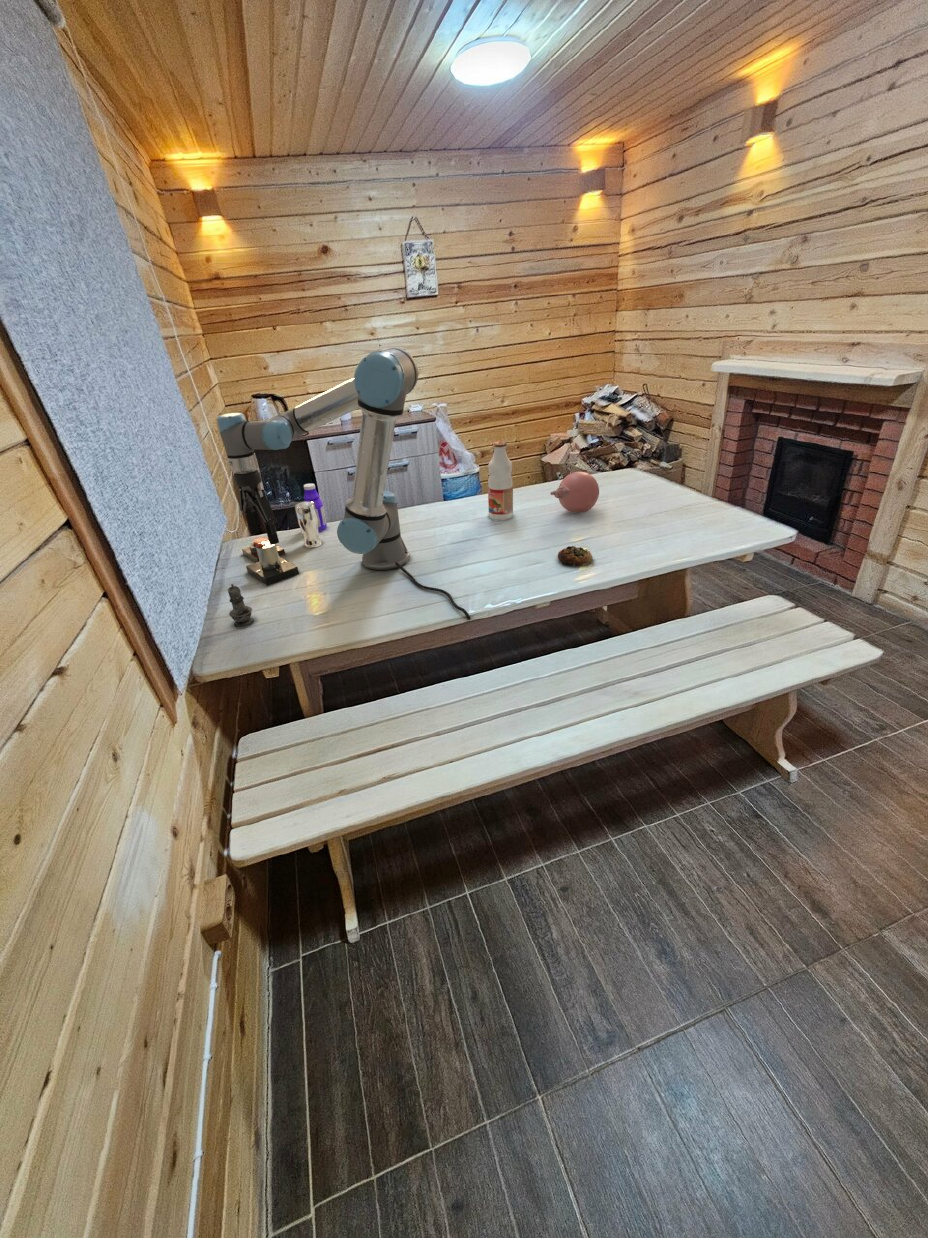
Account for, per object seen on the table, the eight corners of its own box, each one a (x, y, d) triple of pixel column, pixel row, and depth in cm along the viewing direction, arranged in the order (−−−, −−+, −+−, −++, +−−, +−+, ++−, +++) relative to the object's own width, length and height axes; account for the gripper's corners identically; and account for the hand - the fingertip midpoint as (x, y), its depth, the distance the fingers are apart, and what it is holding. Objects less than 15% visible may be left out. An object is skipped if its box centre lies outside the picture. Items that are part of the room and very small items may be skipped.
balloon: (539, 510, 205) (540, 472, 197) (584, 502, 210) (586, 464, 202) (558, 523, 193) (560, 482, 185) (605, 514, 198) (609, 474, 190)
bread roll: (553, 564, 163) (555, 549, 161) (560, 555, 172) (562, 540, 170) (589, 570, 159) (592, 554, 157) (594, 559, 169) (596, 544, 167)
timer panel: (299, 573, 167) (297, 566, 166) (267, 585, 161) (265, 578, 160) (278, 561, 176) (277, 554, 175) (247, 572, 170) (245, 565, 168)
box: (285, 554, 181) (282, 543, 179) (258, 563, 176) (255, 552, 173) (269, 545, 189) (267, 535, 187) (243, 554, 183) (240, 543, 181)
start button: (271, 544, 180) (270, 539, 179) (258, 548, 177) (256, 543, 176) (265, 540, 183) (263, 535, 182) (251, 545, 180) (250, 540, 179)
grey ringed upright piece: (236, 617, 145) (223, 579, 139) (257, 616, 145) (246, 577, 139) (230, 629, 140) (216, 590, 134) (252, 627, 140) (239, 588, 134)
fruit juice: (515, 519, 199) (515, 444, 184) (491, 522, 198) (489, 446, 183) (509, 511, 207) (509, 438, 192) (486, 513, 206) (484, 440, 191)
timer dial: (276, 560, 171) (270, 538, 167) (284, 565, 167) (278, 543, 163) (258, 566, 168) (252, 544, 164) (266, 572, 164) (259, 549, 160)
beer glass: (318, 548, 184) (309, 508, 176) (300, 548, 185) (290, 507, 177) (326, 540, 190) (318, 501, 182) (308, 540, 191) (299, 500, 183)
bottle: (330, 527, 201) (321, 482, 192) (322, 532, 197) (313, 487, 188) (314, 525, 204) (304, 482, 195) (305, 531, 199) (296, 486, 190)
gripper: (216, 466, 157) (236, 532, 168) (251, 480, 141) (271, 552, 152) (240, 461, 161) (258, 525, 172) (277, 473, 145) (294, 544, 156)
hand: (264, 538), depth 162 cm, fingers open, 13 cm apart
